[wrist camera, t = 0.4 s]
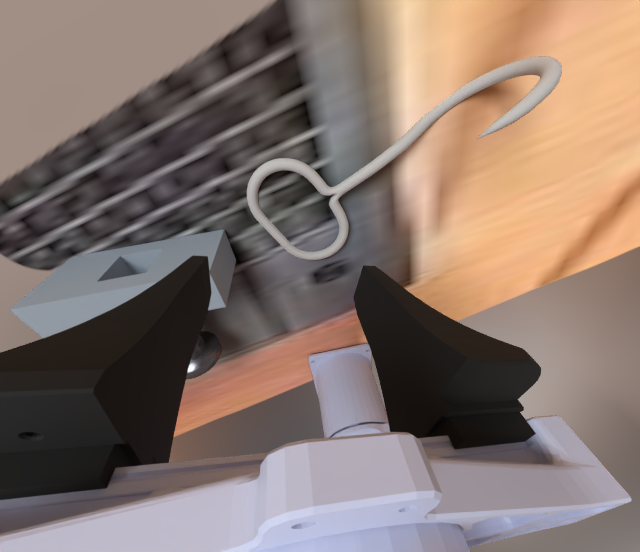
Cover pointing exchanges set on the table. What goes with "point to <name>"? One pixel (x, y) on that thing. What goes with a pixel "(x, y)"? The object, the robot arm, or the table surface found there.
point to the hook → (405, 145)
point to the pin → (204, 354)
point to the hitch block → (120, 280)
